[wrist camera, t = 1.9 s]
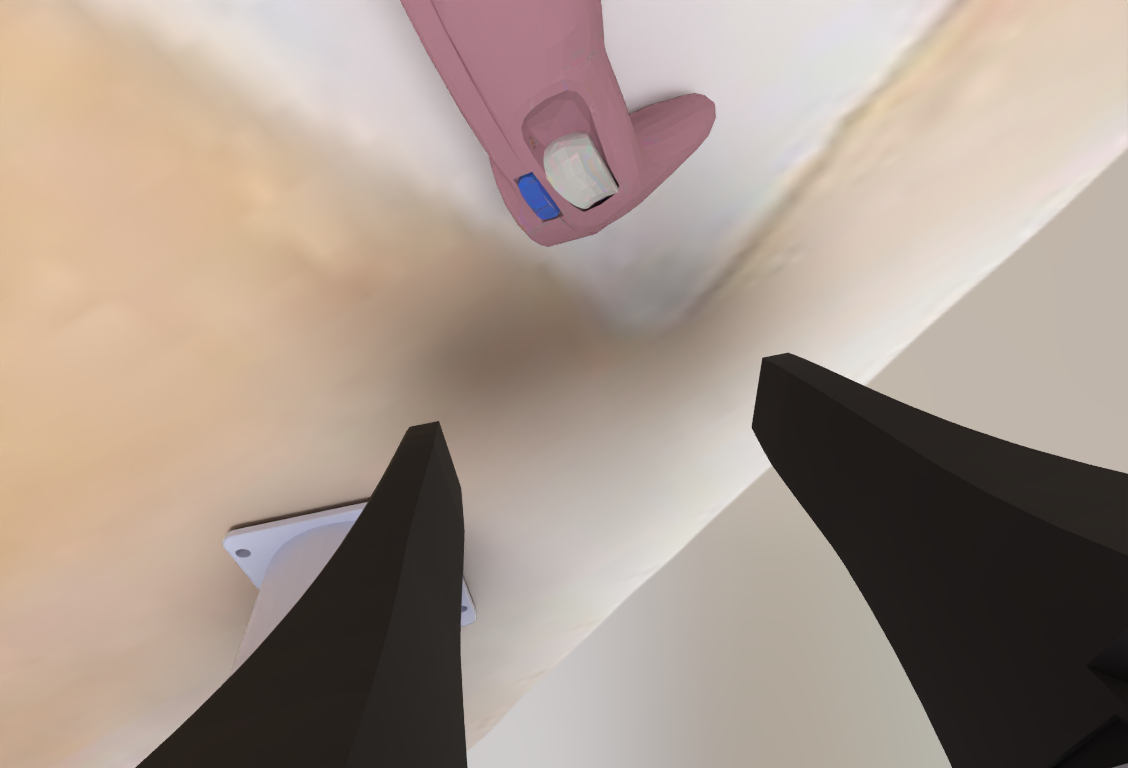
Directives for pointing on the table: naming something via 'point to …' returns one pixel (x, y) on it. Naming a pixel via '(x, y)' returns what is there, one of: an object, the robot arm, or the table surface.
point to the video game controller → (555, 111)
